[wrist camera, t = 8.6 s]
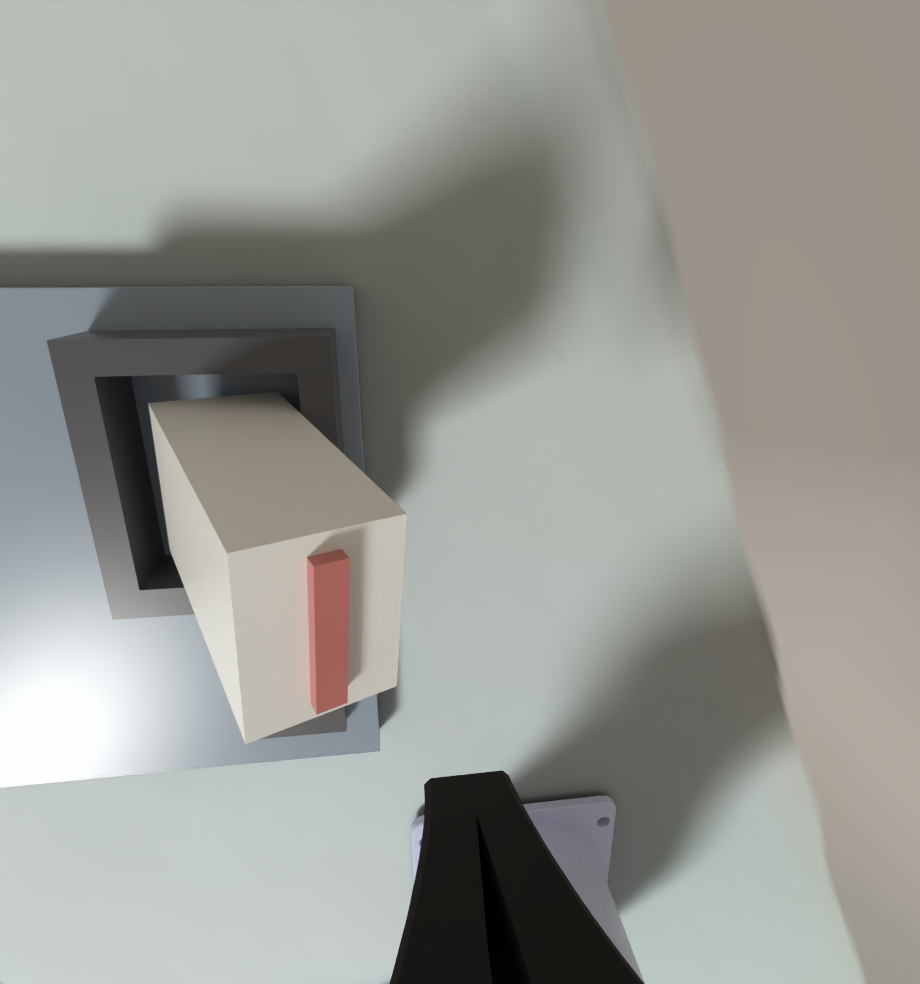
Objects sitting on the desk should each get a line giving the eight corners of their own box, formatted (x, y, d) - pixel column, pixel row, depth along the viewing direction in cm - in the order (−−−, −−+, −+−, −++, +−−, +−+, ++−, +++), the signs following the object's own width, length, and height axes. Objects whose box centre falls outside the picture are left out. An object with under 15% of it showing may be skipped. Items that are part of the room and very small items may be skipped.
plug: (283, 525, 17) (403, 696, 12) (169, 549, 16) (250, 757, 10) (277, 391, 16) (415, 521, 10) (148, 402, 14) (232, 563, 9)
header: (352, 568, 18) (349, 604, 16) (140, 581, 17) (112, 619, 16) (335, 327, 16) (329, 336, 14) (87, 330, 15) (46, 340, 13)
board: (379, 729, 22) (379, 764, 20) (16, 763, 20) (-13, 803, 19) (354, 285, 16) (351, 287, 15) (-143, 287, 15) (-201, 290, 13)
